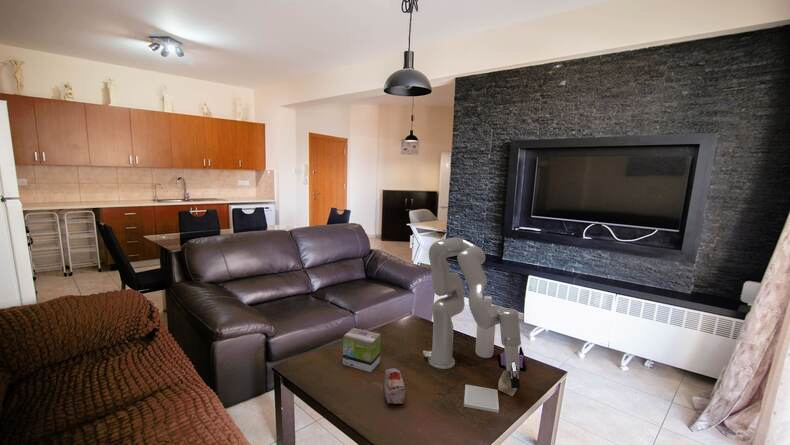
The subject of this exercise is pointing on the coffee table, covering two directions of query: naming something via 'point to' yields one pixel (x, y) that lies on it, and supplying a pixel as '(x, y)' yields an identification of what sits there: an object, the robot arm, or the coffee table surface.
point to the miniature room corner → (521, 360)
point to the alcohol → (485, 336)
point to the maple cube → (506, 384)
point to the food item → (394, 386)
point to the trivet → (481, 398)
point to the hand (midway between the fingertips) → (514, 382)
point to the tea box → (361, 349)
